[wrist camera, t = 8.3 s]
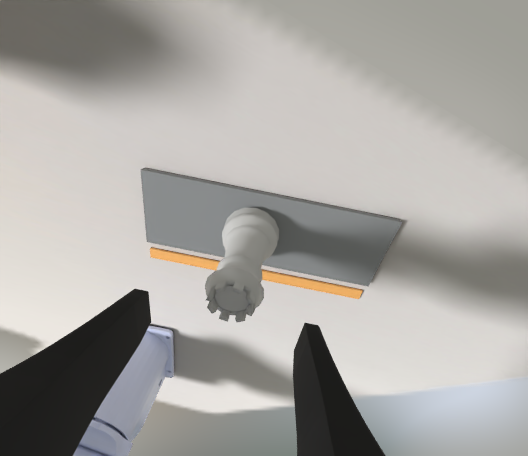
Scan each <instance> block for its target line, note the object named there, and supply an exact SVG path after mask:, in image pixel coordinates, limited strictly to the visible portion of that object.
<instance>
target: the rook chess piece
mask: <svg viewBox="0 0 528 456" xmlns="http://www.w3.org/2000/svg"><path fill="white" fill-rule="evenodd" d="M222 239H223V245H224V247H225V251H226V252H225V257H224V259H222V260H221V261H220V262H219V264H218V267H217V271H215V272H214V273H212V274H211V275H210V276H209V277H208V278H207V281H206V284H205V289H206V294H207V296H208V297H207V299H206V300H208V301H210V302H209V304H208V309H209V310H210V312H211V313H214V312H216V310H217V309H218V310H219V311H221V314H220V317H219V319H221V320H224V321H227V322H228V318H229V315H236V318H235V319H236V322H241V321H245V318H246V314H248V315H250V316H252V314H253V312H254V311H255V308H256V307H258V306H259V305H260V304H261V302H262V300H263V298H264V289H263V287H262V285H261V283H260V282H261V280H262V270H261V266H262V263H263V261H265V260H266V259H267V258H268V257H270V256H271V255H272V254H273V252H274V250H275V248H276V246H277V241H278V239H279V228H278V226H277V224H276V221H275V220H274V219H273V218H272V217H271V216H270V215H269V214H268V213H267V212H265V211H262V210H260V209H258V208H242V209H239V210H237V211H234V212H233V213H232V214H231V215H230V216H229V217H228V218H227V220H226V223H225V226H224V229H223V231H222Z"/></svg>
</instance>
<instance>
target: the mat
mask: <svg viewBox="0 0 528 456" xmlns="http://www.w3.org/2000/svg"><path fill="white" fill-rule="evenodd" d="M141 180H142V191H143V203H144V214H145V226H146V237H147V242H150V243H155V244H160V245H165V246H170V247H175V248H180V249H185V250H190V251H195V252H200V253H205V254H210V255H215V256H220V257H225V252H226V251H225V247H224V245H223V239H222V231H223V229H224V226H225V223H226V220H227V218H228V217H229V216H230V215H231V214H232V213H233V212H234V211H237V210H239V209H242V208H258V209H260V210H262V211H265V212H267V213H268V214H269V215H270V216H271V217H272V218H273V219H274V220H275V221H276V224H277V226H278V228H279V239H278V241H277V246H276V248H275V250H274V252H273V254H272V255H271V256H270V257H268V258H267V259H266V260H265V261H263V263H262V265H265V266H270V267H275V268H279V269H284V270H289V271H294V272H299V273H304V274H309V275H314V276H319V277H324V278H329V279H334V280H339V281H344V282H349V283H354V284H359V285H364V286H369V284H370V282H371V280H372V278H373V277H374V275H375V273H376V271H377V269H378V267H379V265H380V263H381V262H382V260H383V258H384V256H385V254H386V252H387V250H388V248H389V246H390V245H391V243H392V241H393V239H394V237H395V235H396V233H397V231H398V230H399V228H400V226H401V224H402V222H401V221H400V219H397V218H392V217H387V216H382V215H377V214H372V213H367V212H362V211H357V210H352V209H347V208H342V207H337V206H332V205H327V204H322V203H317V202H313V201H308V200H303V199H298V198H293V197H288V196H283V195H278V194H273V193H268V192H263V191H258V190H253V189H248V188H243V187H238V186H233V185H228V184H223V183H218V182H213V181H208V180H203V179H198V178H193V177H188V176H183V175H178V174H173V173H168V172H163V171H159V170H154V169H149V168H143V169H141Z"/></svg>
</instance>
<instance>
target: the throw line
mask: <svg viewBox="0 0 528 456" xmlns="http://www.w3.org/2000/svg"><path fill="white" fill-rule="evenodd" d="M150 254H151V257H152V258H157V259H162V260H167V261H172V262H177V263H182V264H187V265H192V266H197V267H202V268H207V269H212V270H217V267H218V264H219V262H220V261H216V260H211V259H206V258H201V257H196V256H191V255H186V254H181V253H176V252H172V251H167V250H162V249H157V248H152V247H151V248H150ZM262 280H266V281H271V282H276V283H281V284H286V285H291V286H296V287H301V288H306V289H311V290H316V291H321V292H326V293H331V294H336V295H341V296H346V297H351V298H356V299H359V297H360V296H361V294H362V292H363V291H362V290H361V289H356V288H351V287H346V286H341V285H336V284H331V283H326V282H321V281H316V280H311V279H306V278H301V277H296V276H291V275H286V274H281V273H276V272H271V271H266V270H262Z"/></svg>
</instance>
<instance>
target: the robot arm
mask: <svg viewBox="0 0 528 456" xmlns="http://www.w3.org/2000/svg"><path fill="white" fill-rule="evenodd" d="M150 323H151V316H150V305H149V294H148V291H143V290H138V289H134V290H132V291H131V292H129V293H128V294H127V295H125V296H124V297H122V298H121V299H120V300H118V301H117V302H115V303H114V304H112V305H111V306H110V307H108V308H107V309H105V310H104V311H102V312H101V313H100V314H98V315H97V316H95V317H94V318H92V319H91V320H89V321H88V322H86V323H85V324H83V325H82V326H80V327H79V328H77V329H76V330H74V331H73V332H71V333H69V334H68V335H66V336H65V337H63V338H62V339H60V340H58V341H57V342H55V343H54V344H52V345H50V346H49V347H47V348H45V349H44V350H42V351H40V352H39V353H37V354H35V355H33V356H32V357H30V358H28V359H26V360H25V361H23V362H21V363H19V364H18V365H16V366H14V367H12V368H10V369H9V370H6V371H5V372H3V373H1V374H0V456H128V454H129V452H130V450H131V447H132V445H133V443H131V441H132V440H133V439H134V438H135V437H136V436H137V434H138V433H139V432H140V430H141V428H142V427H143V425H144V422H145V420H146V418H147V416H148V413H149V411H150V409H151V407H152V405H153V403H154V400H155V398H156V396H157V394H158V392H159V389H160V387H161V385H162V383H163V381H164V378H165V377H169V378H172V377H173V376H174V344H173V332H172V331H171V330H169V329H164V328H159V327H154V326H149V325H150ZM293 382H294V399H295V414H296V428H297V429H296V430H297V456H385V454H384V453H383V451H382V449H381V448H380V446H379V445H378V443H377V442H376V440H375V438H374V437H373V435H372V433H371V432H370V430H369V428H368V427H367V425H366V423H365V421H364V420H363V418H362V416H361V414H360V412H359V411H358V409H357V407H356V405H355V403H354V401H353V399H352V398H351V396H350V394H349V392H348V390H347V388H346V386H345V384H344V382H343V380H342V378H341V376H340V374H339V372H338V369H337V367H336V365H335V363H334V361H333V359H332V356H331V354H330V352H329V349H328V347H327V345H326V342H325V340H324V337H323V335H322V332H321V330H320V327H319V326H318V325H313V324H308V323H305V324H304V326H303V329H302V331H301V334H300V336H299V339H298V342H297V344H296V347H295V349H294V363H293Z"/></svg>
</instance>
